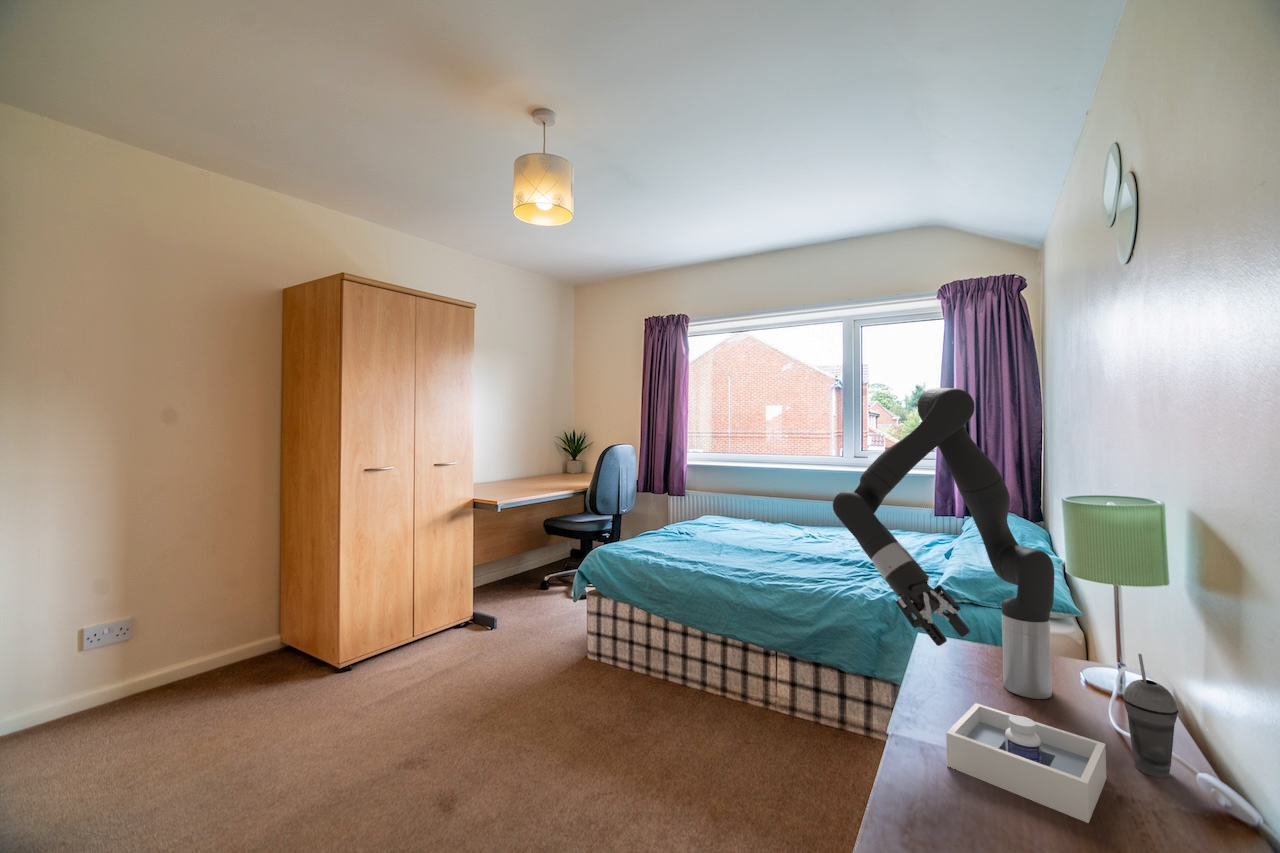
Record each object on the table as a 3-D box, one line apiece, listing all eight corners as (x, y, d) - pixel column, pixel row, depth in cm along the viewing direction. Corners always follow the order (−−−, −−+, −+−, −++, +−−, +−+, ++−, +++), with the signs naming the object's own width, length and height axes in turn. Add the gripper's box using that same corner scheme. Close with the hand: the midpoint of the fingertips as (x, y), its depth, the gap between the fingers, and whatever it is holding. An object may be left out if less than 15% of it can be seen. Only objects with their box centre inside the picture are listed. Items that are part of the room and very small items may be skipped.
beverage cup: (1169, 787, 92) (1166, 668, 93) (1116, 765, 99) (1113, 653, 99) (1188, 775, 96) (1184, 659, 96) (1135, 753, 102) (1132, 645, 102)
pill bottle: (1048, 782, 94) (1046, 729, 94) (1014, 779, 95) (1012, 727, 95) (1032, 764, 99) (1030, 714, 99) (1000, 761, 100) (998, 712, 100)
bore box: (976, 733, 110) (975, 703, 110) (1106, 778, 95) (1105, 743, 95) (947, 766, 99) (946, 732, 99) (1088, 823, 84) (1087, 783, 84)
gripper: (890, 563, 112) (948, 637, 102) (929, 554, 119) (987, 622, 109) (867, 584, 116) (921, 656, 106) (907, 574, 124) (960, 640, 114)
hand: (954, 639), depth 108 cm, fingers open, 8 cm apart
